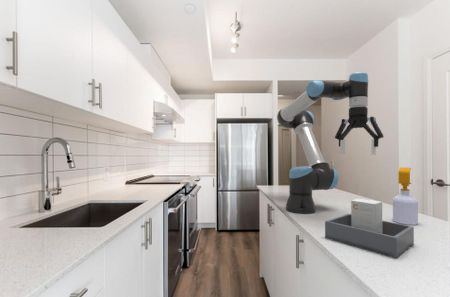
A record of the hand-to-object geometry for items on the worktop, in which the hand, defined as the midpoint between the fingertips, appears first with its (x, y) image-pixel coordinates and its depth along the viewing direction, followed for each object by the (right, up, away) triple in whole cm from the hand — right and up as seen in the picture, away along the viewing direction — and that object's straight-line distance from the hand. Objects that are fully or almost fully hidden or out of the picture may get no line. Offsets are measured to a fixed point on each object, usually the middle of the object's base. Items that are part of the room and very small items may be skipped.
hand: (357, 154), depth 111 cm
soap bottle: (+21, -31, -1) cm, 37 cm away
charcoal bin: (-10, -30, -25) cm, 40 cm away
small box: (-10, -29, -25) cm, 40 cm away
